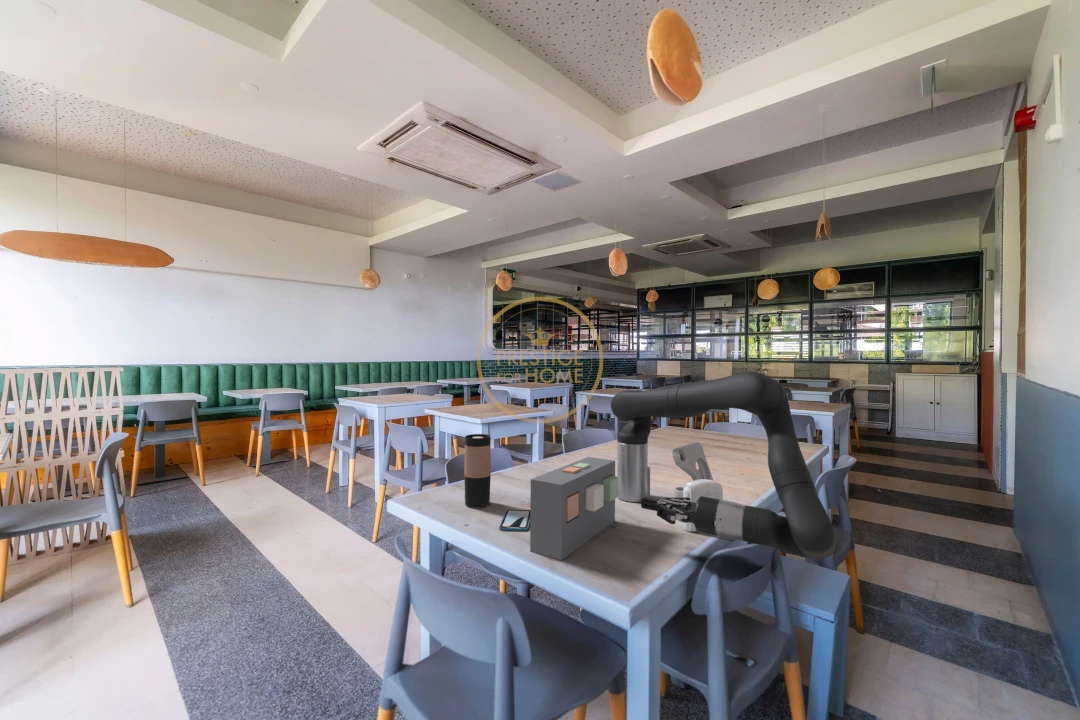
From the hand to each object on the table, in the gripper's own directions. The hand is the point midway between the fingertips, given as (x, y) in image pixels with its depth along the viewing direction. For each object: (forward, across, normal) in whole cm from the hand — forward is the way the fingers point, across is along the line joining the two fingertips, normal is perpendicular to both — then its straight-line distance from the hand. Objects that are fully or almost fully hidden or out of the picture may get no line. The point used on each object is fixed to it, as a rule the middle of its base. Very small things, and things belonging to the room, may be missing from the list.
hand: (642, 502), depth 103 cm
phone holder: (-5, -34, +10) cm, 36 cm away
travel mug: (+50, 0, +10) cm, 51 cm away
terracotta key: (+13, +13, +2) cm, 19 cm away
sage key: (+12, -5, +2) cm, 13 cm away
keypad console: (+15, +4, +10) cm, 19 cm away
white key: (+12, +4, +2) cm, 12 cm away
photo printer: (-9, -18, +10) cm, 23 cm away
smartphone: (+33, +4, +11) cm, 35 cm away
